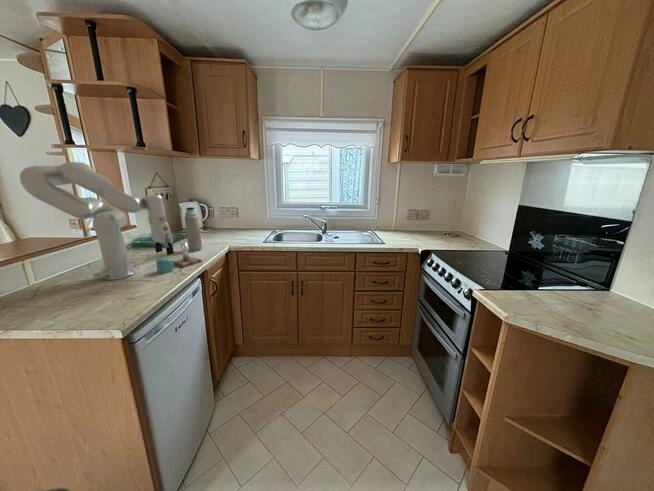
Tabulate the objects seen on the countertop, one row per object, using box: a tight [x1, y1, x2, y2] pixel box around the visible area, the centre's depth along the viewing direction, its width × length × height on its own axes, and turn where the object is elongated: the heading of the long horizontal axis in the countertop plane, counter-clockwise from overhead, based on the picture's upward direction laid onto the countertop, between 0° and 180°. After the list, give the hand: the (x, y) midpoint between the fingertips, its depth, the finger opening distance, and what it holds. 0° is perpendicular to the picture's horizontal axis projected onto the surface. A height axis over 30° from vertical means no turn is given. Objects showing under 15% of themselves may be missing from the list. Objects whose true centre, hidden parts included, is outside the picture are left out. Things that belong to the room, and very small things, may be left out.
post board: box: [173, 256, 202, 269], centre depth 150 cm, size 11×11×2 cm
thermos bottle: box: [184, 207, 203, 252], centre depth 173 cm, size 8×8×28 cm
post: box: [180, 242, 190, 261], centre depth 149 cm, size 3×3×10 cm
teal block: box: [155, 257, 175, 274], centre depth 138 cm, size 7×7×6 cm
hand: (164, 253), depth 136 cm, fingers open, 9 cm apart
